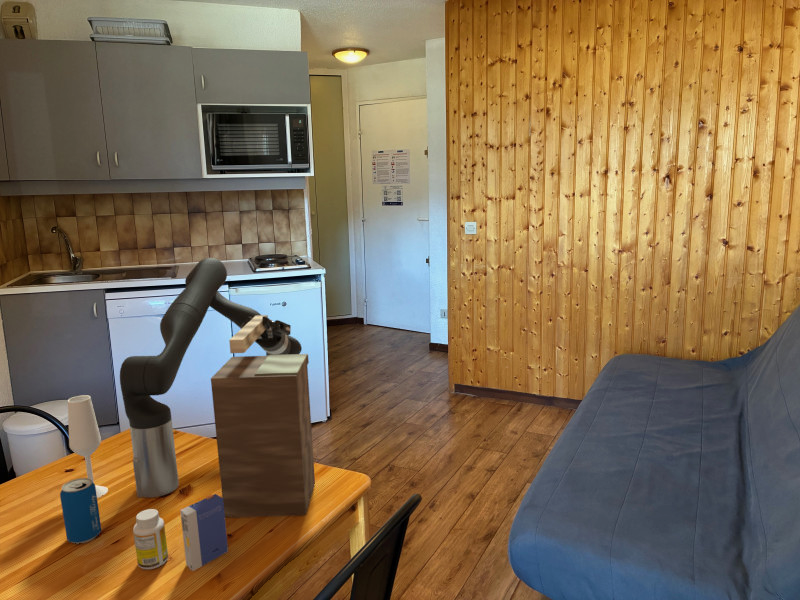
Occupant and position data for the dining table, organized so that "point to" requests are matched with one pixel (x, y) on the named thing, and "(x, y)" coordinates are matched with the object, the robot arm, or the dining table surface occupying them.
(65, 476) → the dining table surface
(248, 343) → the pale wooden plank
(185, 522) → the blue cardboard box
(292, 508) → the walnut stand
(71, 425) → the champagne flute
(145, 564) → the supplement bottle
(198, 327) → the robot arm
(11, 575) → the dining table surface
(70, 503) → the beverage can
